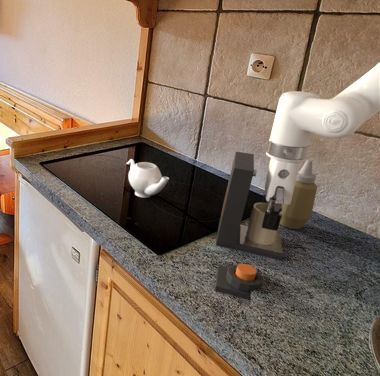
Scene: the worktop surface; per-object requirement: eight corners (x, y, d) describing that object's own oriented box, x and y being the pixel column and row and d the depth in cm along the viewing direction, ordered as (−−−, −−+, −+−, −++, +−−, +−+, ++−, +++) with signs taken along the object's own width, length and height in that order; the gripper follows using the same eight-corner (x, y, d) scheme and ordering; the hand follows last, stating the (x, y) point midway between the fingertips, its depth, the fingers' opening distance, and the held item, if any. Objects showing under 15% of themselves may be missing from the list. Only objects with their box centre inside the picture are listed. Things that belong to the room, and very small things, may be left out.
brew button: (254, 273, 82) (256, 266, 82) (254, 283, 80) (256, 276, 79) (235, 268, 84) (237, 261, 83) (235, 278, 81) (236, 271, 80)
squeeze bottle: (313, 227, 106) (335, 163, 98) (295, 234, 102) (317, 168, 94) (283, 214, 112) (302, 152, 104) (265, 220, 108) (284, 157, 100)
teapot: (137, 179, 131) (141, 152, 127) (176, 206, 114) (182, 176, 111) (111, 183, 128) (114, 155, 124) (148, 211, 111) (152, 181, 107)
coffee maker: (278, 235, 101) (301, 161, 93) (281, 260, 91) (307, 180, 83) (218, 222, 107) (235, 151, 98) (215, 245, 97) (233, 167, 88)
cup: (273, 234, 99) (282, 205, 96) (274, 247, 94) (284, 217, 90) (245, 228, 101) (253, 200, 98) (245, 240, 96) (253, 211, 93)
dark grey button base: (268, 282, 84) (272, 270, 83) (269, 305, 78) (274, 293, 76) (217, 269, 88) (220, 257, 87) (214, 290, 81) (217, 278, 80)
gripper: (311, 165, 79) (289, 240, 86) (302, 141, 94) (284, 207, 101) (269, 160, 82) (251, 233, 89) (266, 137, 96) (250, 201, 103)
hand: (268, 219), depth 95 cm, fingers open, 9 cm apart
